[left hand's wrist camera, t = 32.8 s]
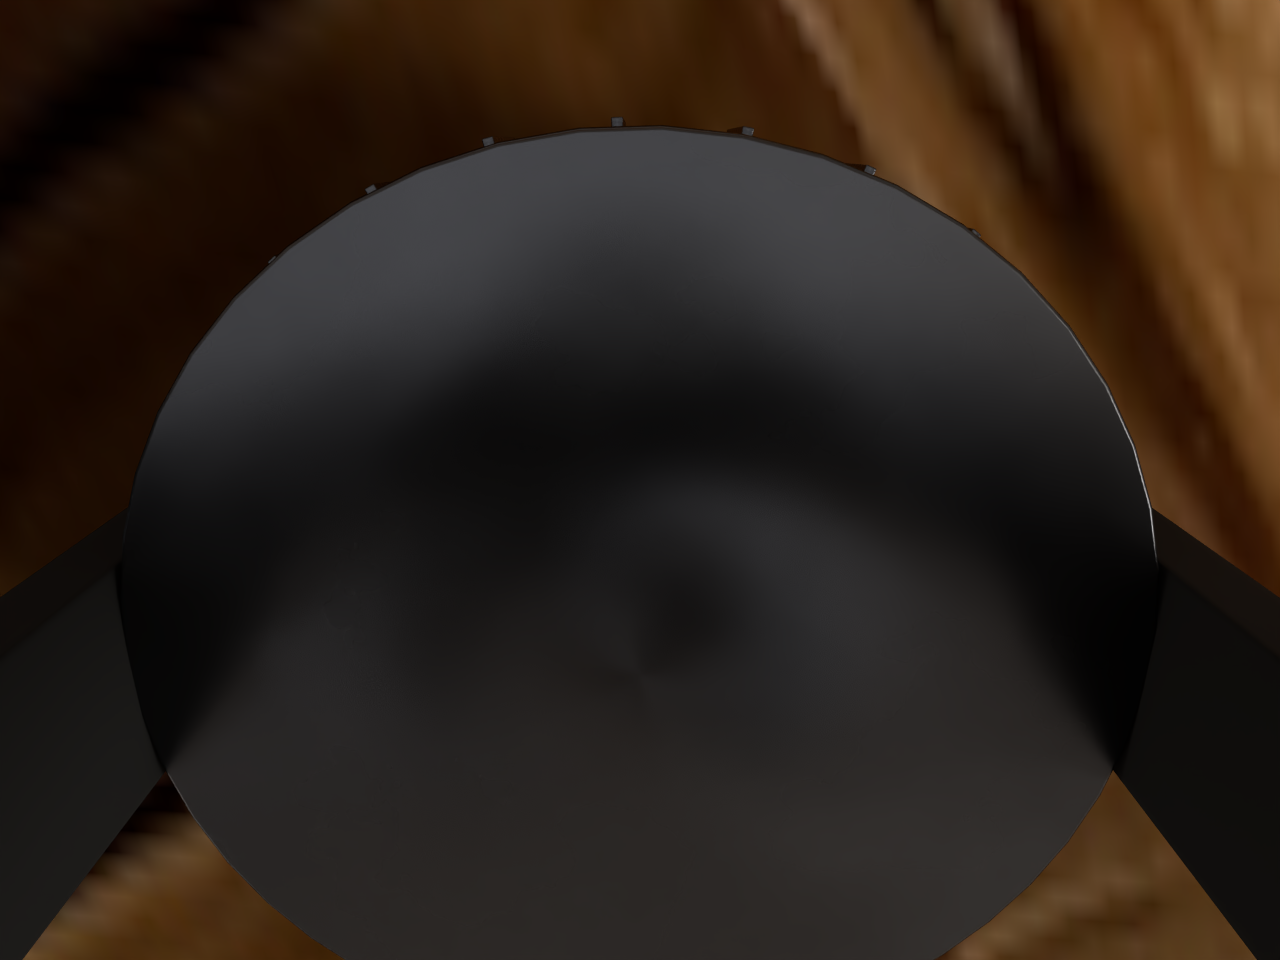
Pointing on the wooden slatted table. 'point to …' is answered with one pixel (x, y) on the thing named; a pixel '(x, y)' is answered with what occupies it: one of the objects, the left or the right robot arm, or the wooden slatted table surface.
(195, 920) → the wooden slatted table surface
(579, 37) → the wooden slatted table surface
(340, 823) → the lid
